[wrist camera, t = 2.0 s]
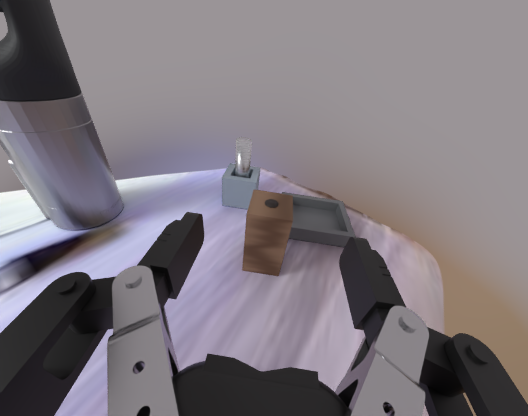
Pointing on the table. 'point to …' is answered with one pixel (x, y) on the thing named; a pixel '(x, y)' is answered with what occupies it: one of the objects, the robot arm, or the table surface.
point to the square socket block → (239, 187)
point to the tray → (320, 221)
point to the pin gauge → (243, 157)
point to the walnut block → (267, 231)
